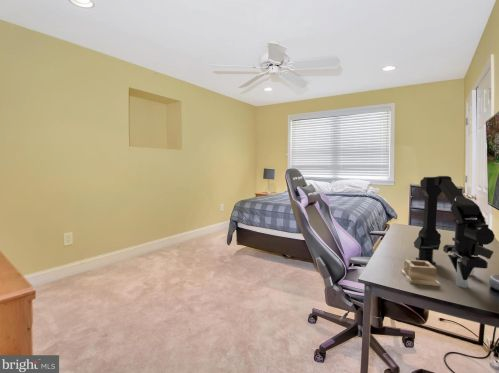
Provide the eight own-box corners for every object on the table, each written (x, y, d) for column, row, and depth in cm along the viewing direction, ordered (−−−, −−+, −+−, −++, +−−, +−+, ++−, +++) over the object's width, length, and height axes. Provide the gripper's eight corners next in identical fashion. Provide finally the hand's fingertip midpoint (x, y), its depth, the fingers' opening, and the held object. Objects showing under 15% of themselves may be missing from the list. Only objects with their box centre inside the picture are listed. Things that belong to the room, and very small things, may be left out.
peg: (454, 283, 105) (455, 257, 104) (464, 284, 104) (466, 258, 103) (458, 287, 101) (460, 261, 101) (469, 288, 101) (471, 261, 100)
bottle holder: (400, 271, 117) (401, 257, 116) (427, 273, 114) (427, 259, 114) (410, 283, 105) (411, 268, 105) (440, 286, 103) (440, 270, 102)
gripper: (507, 245, 90) (504, 291, 92) (475, 232, 109) (473, 270, 110) (468, 243, 93) (466, 288, 94) (443, 230, 111) (441, 268, 112)
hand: (462, 277), depth 103 cm, fingers closed on peg, 3 cm apart
